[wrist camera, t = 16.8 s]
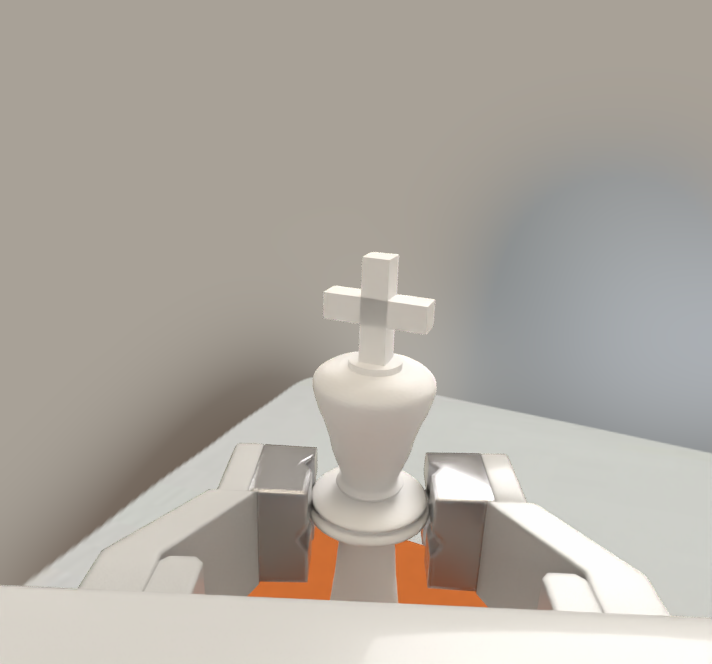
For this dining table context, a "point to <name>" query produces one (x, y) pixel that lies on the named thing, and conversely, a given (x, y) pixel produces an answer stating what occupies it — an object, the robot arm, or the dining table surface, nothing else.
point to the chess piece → (372, 432)
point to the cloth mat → (407, 578)
